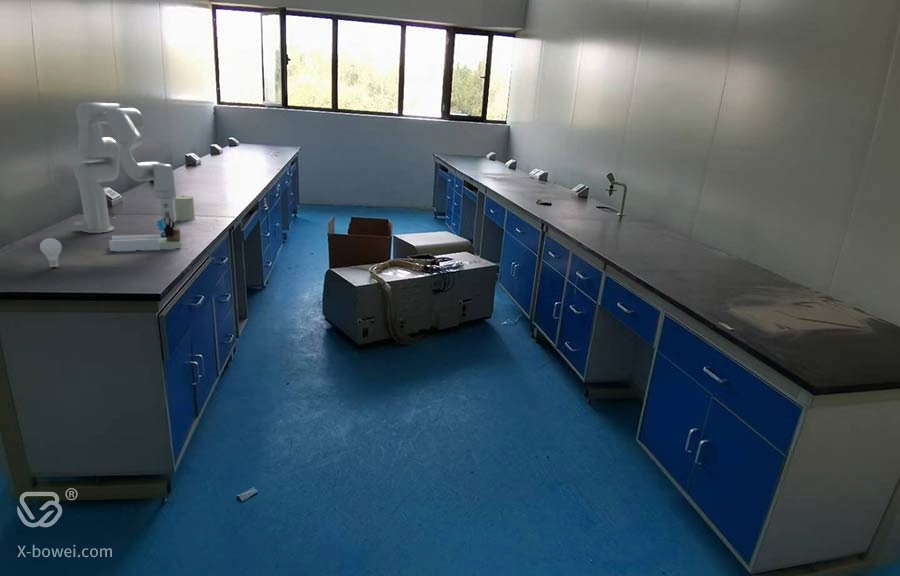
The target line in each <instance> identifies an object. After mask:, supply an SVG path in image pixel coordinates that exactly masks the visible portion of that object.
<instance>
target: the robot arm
mask: <svg viewBox="0 0 900 576" xmlns="http://www.w3.org/2000/svg"><path fill="white" fill-rule="evenodd" d="M75 111H76V112H75V114H76V119H77V123H78V153H79V156H81V158H83V159H85V160H84V161H80V162H77V163H76V164H75V165H74V167H73V172H74V176H75V178H76V180H77V183H78V188H79V192H80V193H79V194H80V200H81V205H82V211H83V212H82V213H83V217H84V220H83V221H81V222H80V221H74V222H73V225H74V227H76V228H80V227H82V228H81V229H82V230H81V231H82V232H84V233H86V232H87V233H88V234H101V233H102V232H103V233H109V232H112V231H114V230H115V226H113V225H111V221H110V215H109V209H108V202H107V196H106V191H105V189H104V188H103V187H102V186H101V185H100V183H104V182H112V181H115V180H116V179H118V177H119V174H120V162H121V165H122V167H123V169H124V170H125V173H126V174H127V175H128V176H129V177H130V179H132V180H133V181H135V182H145V181H153V184H154V185H153V186H154V192H155V193H154V194H155V198H156V199H158V201H159V208H160V214H161V215H160V216H161V219H162V221H163V222H164V226H165V227H164V230H165V234H164V238H167V237H173V236H174V232H173V227H175V226H176V225H175V222H177V220H176V211H175V202H174V198H176V197H177V194H176V187H175V178H174V177H175V176H174V175H175V174H174V168H173V165H172V164H169V163H162V162H159V161H142V162H141V161H140V162H139V161H138V162H137V161H136V160H135V158H134V157H133V154H132V152H131V151H133V150H134V149H136V148H138V147H139V146H141V145H142V143H143V140H144V139H143V136H142V135H141V133H140V132H139V130H138V129H141V128H143V127H144V124H145V119H144V115H143V114H142V112H140V111H139V110H138V109H137V108H134V107H131V106H128V105H125V104H122V103H116V102H115V103H114V102H97V101H96V102H94V101H93V102H91V101H89V102H87V101H86V102H81V103H80V104H79V105H78V106H77V107H76V110H75ZM101 124H107V125H108V126H109V127H110V129H111V131H112V132H113V134H114V136H115V137H116V138H117V140H118V141H119V143H120V145H121V148H120V146H119V144H118V142H117V140H115V139H114V138H112V137H109V136H103V128H102V125H101ZM164 230H163V231H164Z"/></svg>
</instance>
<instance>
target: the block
mask: <svg viewBox="0 0 900 576" xmlns="http://www.w3.org/2000/svg"><path fill="white" fill-rule="evenodd" d="M173 232H174V236H173V237H166V238H167V242H175V241H180V239H182V237H181V228H180V227H179V226H178V227H173Z"/></svg>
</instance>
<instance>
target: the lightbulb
mask: <svg viewBox="0 0 900 576" xmlns="http://www.w3.org/2000/svg"><path fill="white" fill-rule="evenodd" d="M39 249H40V251H41V253H43V254H44V256H45V257H46V258H47V260H48V263H49V267H50V268H52V267H56V268H58V267H59V254H61V252H62V249H63V245H62V244H61V242H60V241H59V240H58V239H56V238H54V237H51V238H50V237H49V238H48V237H47V238H45V239H43V240H42V241H41V242H40V244H39Z"/></svg>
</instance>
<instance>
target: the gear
mask: <svg viewBox="0 0 900 576" xmlns="http://www.w3.org/2000/svg"><path fill="white" fill-rule="evenodd" d="M156 226H157V227H158V230H159V231H162V232H161V233H160V235H161V236H162V235H163V236H165V230H164V227H165V226H164V222H163V221H162V218H161V219H159V220H158V221H157V224H156ZM174 226H175V227H179V226H178V225H177V224H176V225H174Z"/></svg>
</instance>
